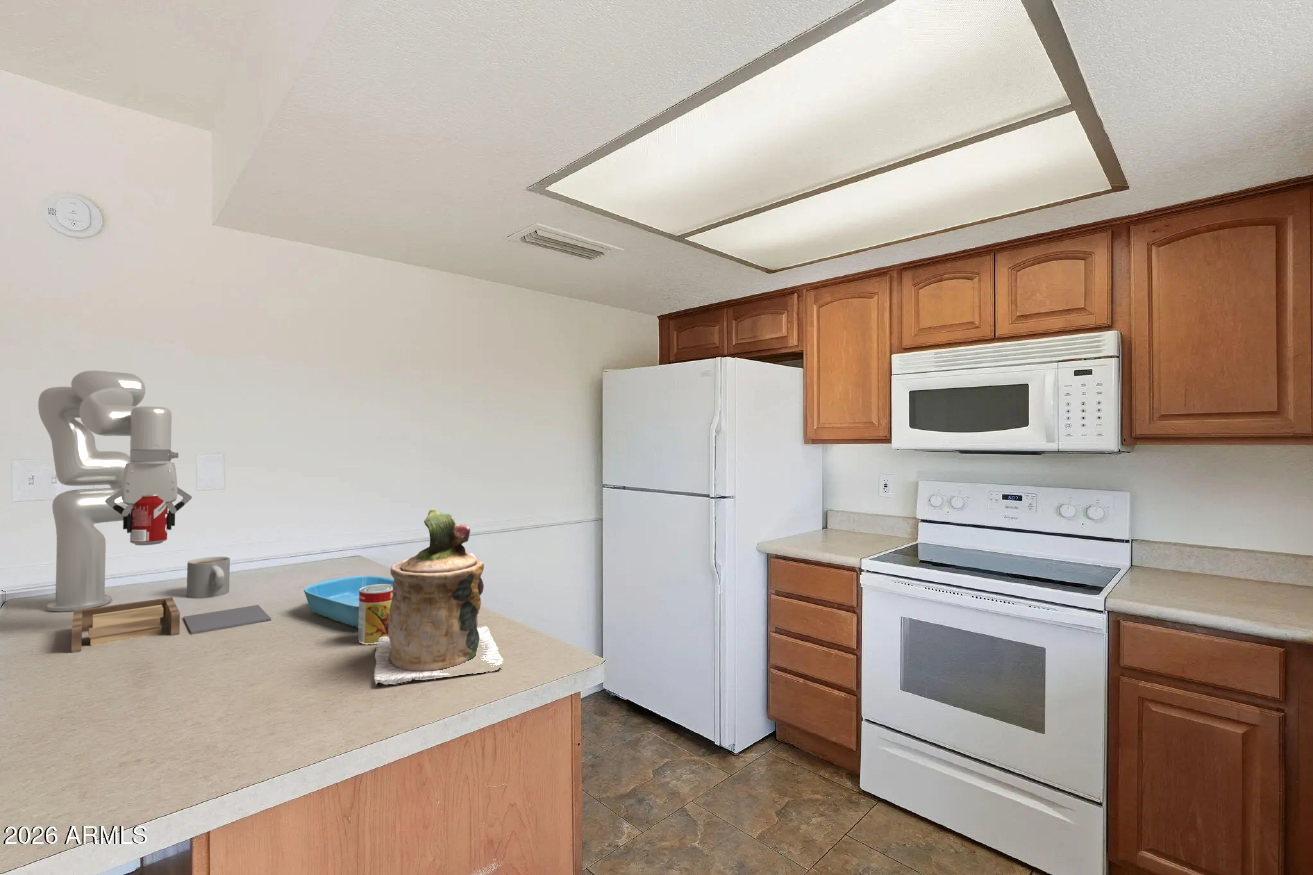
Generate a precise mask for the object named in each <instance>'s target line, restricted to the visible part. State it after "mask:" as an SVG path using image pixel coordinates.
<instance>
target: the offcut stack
mask: <svg viewBox="0 0 1313 875" xmlns="http://www.w3.org/2000/svg"><path fill="white" fill-rule="evenodd" d="M160 617H163V607H162V605H157V606H151V607H144V608H137V609H130V610H123V611H116V612H109V613H102V614H95V615H93V616H92V624H91V625H89V631H88V638H89V640H90V641H89V642H90V643H89V644H90V645H92V646H97V645H96V644H98V645H102V644H103V645H104V644H109V643H108V642H110V643H115V641H116V642H119V641H118V640H121V641H126V639H127V640H131V639H130V638H133V639H138V637H139V638H143V636H145V637H149V636H150V637H151V636H156V635H161V634H162V623H161V620H160Z"/></svg>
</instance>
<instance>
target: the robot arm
mask: <svg viewBox="0 0 1313 875" xmlns="http://www.w3.org/2000/svg"><path fill="white" fill-rule="evenodd" d="M145 395H146V386H145V383H144V381H143V380H142V378H140V377H139V376H138V375H136V374H133V373H128V372H127V373H126V372H117V371H116V372H115V371H105V370H86V371H82V372H79V373H77V374H75V376H74V377H72V380H71V383H70V386H54V387H49V388H47V389H44V390H43V391H42V392H41V393H40V395H38V396H39V397H38V401H37V402H38V404H37V406H38V407H37V408H38V414H39V417H40V420H41V423H42V424H43V426H44V427H45V429H46V431H47V433H48V436H49V437H50V441H51V447H52V454H53V455H52V456H53V462H54V470H55V475H56V478H57V480H58V482H59V483H60V484H62V485H64V486H71V487H79V486H80V487H81V486H86V487H87V486H104V485H105V486H106V485H107V486H109V487H106V488H105V487H103V488H97V487H96V488H80V489H79V488H78V489H70V490H66V491H64V492H63V491H62V492H61V493H59V494H57V495H56V496H55V497H54V499H53V500H52V503H51V504H52V505H51V506H52V507H51V508H52V514H53V519H54V523H55V529H56V530H55V532H56V535H55V536H56V556H55V557H56V560H55V562H56V565H55V566H56V567H55V569H56V570H55V600H54V601H52V602H50V603H48V604H47V605H46V610H47V611H50V612H71V611H75V610H82V609H90V608H97V607H103V606H106V605H108V604H110V603H111V602H113V596H112V595H107V594H106V593H105V592H106V591H105V590H106V589H105V588H106V553H107V552H106V551H107V550H106V548H107V546H106V545H107V544H106V543H107V542H106V537H105V536H104V534H103V533H102V532H101V531H100V530H99V529H97V528H96V527H95V524H101V523H109V522H111V523H112V522H121V521H122V529H123V530H126V534H130V532H131V510H132V508H133V504H135V503H136V502H137V501H138V500H139V499H141V498H142V497H141V496H142V495H159V496H158V497H159V498H160V499H162V500H163V501H165V503H167V507H168V519H167V531H172V527H175V525H176V513H177V512H178V511H180V510H181V509H182V508H183V507H184V506H185V505H186V504H187V503H189V502H190V501H191V500H192V498H193V497H192V495H191V494H189V493H187V492H186V491H184V490H183V489H181V488H179V487H178V479H177V468H176V464H175V462H172V460H173V459H175V458H176V459H178V458H179V452H175V451H172V411H171V410H170V409H169V408H167V407H163V406H162V407H161V406H148V405H147V406H138V405H139V404H141V402H142V401H143V400H144V397H145ZM79 418H80V421H81V422H80V421H78V420H77V419H79ZM93 433H94V434H95V435H99V436H102V437H130V438H129V439H130V442H129V444H130V445H129V454H128V453H126V452H121V451H109V450H108V451H104V450H103V451H101V450H98V449H97V446H96V439H95V435H94V434H93ZM178 495H179V496H181V497H182V498H181V500H180V501H179V502H177V503H176V504H174V503H173V502H176V501H177V500H178Z"/></svg>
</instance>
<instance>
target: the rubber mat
mask: <svg viewBox="0 0 1313 875" xmlns="http://www.w3.org/2000/svg"><path fill="white" fill-rule="evenodd" d="M265 620H270V621H272V618H271V617H270V615H269V614H268V613H267V612H266V611H265V610H264V609H263V608H261V606H260V605H259V604H255V605H249V606H248V605H247V606H243V607H236V608H229V609H223V610H218V611H210V612H205V613H198V614H192V615H185V616H183V621H184V622H185V625H186V626H187V628H188V631H189V632H190V634H191V635H194V634H201V633H206V632H212V631H217V630H218V629H219V630H222V629H223V630H225V629H229V628H236V627H241V625H242V626H245V625H244V624H247V625H251V623H253V624H255V623H254V622H259V623H262V622H261V621H265ZM265 622H266V621H265ZM235 626H236V627H235Z"/></svg>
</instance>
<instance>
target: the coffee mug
mask: <svg viewBox="0 0 1313 875" xmlns="http://www.w3.org/2000/svg"><path fill="white" fill-rule="evenodd" d="M230 563H231V558H230V557H228V556H207V557H201V558H194V559H191V560H188V561H187V565H186V567H187V568H186V570H187V571H186V572H187V573H186V574H187V575H186V598H188V599H205V598H206V599H207V598H214V597H220V596H224V595H226V594H228V593H230V571H231V570H230V569H231V568H230V566H231V565H230Z"/></svg>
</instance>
